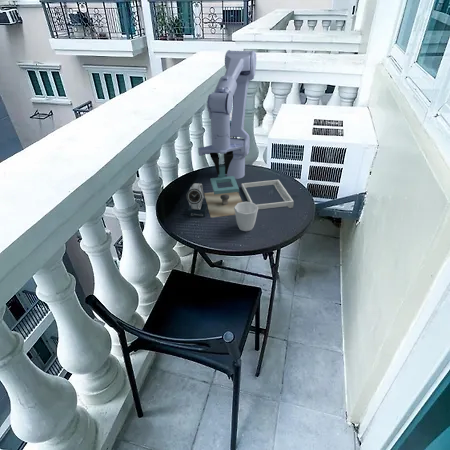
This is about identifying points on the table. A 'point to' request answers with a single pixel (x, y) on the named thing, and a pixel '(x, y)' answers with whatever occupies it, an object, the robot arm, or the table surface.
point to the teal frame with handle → (222, 179)
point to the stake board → (218, 204)
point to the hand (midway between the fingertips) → (221, 173)
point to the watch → (196, 201)
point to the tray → (280, 189)
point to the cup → (246, 215)
